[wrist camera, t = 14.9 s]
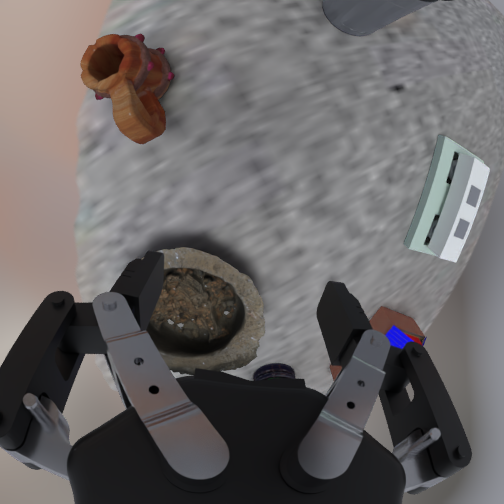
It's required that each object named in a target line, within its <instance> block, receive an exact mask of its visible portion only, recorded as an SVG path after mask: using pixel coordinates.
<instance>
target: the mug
mask: <svg viewBox="0 0 504 504" xmlns="http://www.w3.org/2000/svg"><path fill="white" fill-rule="evenodd" d="M144 39H145V37H144V36H143V35H142V34H138V35H136V36H129V35H121V36H119V35H117V34H110V35H106V36H103V37H101V38H99V39H97V40H96V43H95V45H89V46H88V48H87V50H86V52H85V53H84V55H83V58H82V60H81V68H82V70H83V72H82V74H81V78H82V80H83V83H84V84H85V85H86V86H87V87H88V88H90V89H93V90H94V91H95V93H96V94H95V97H96V99H97V100H101V99H103V98H104V97H105V98H111V99H112V103H113V117H114V121H115V123H116V125H117V127H118V128H119V130H120V131H121V132H122V133H123V134H124V135H125V136H127V137H128V138H129V139H131V140H132V141H134V142H136V143H139V144H145V143H147V142H148V141H151V140H152V139H154V138H156V137H158V136H160V135H162V134H163V132H164V131H165V129H166V117H165V111H164V109H163V108H162V106H161V104H160V103H159V101H158V99H160V98H161V97H162V96H163V94H164V93H165V92H166V91H167V89H168V87H169V84H170V80H172V79H173V78H174V74H173V73H172V72H171V69H170V66H169V63H168V61H167V59H166V58H165V57H164V53H165V50H164V48H158V49H156V50H154V49H150V48H147V47H146V45H145V44H144V43H143V42H144Z"/></svg>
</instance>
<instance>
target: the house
mask: <svg viewBox="0 0 504 504" xmlns="http://www.w3.org/2000/svg"><path fill="white" fill-rule="evenodd" d="M369 322H370V324H371V326H372V328H373V330H377V331H379V332H381V333H383V334H384V335H385V336H386V337H387V338H388V339H389V341H390V345H391V346H394V347H398V348H401V349H403V347H404V346H405V344H406V343H407V342H410V341H412V342H416V343H419V344H420V345H422V346H423V345H424V343H425V340H426V338H425V336H424V334H423V333H422V331H421V330H420V328H419V327H418V325H417V324H416V322H415V321H414V319H413V318H410V317H408V316H405V315H403V314H400V313H398V312H395V311H393V310H390V309H388V308H385V307H382V306H381V307H380V309H379V310H378V311H377V312H376V314H375V315H374V316H373V317H372V319H371V320H370V321H369ZM424 338H425V339H424ZM422 340H423V341H422ZM330 369H331V373H332V376H333V380H335V379H336V377H337V375H338V374H339V372H340V371H341V369H342V367H341V366H332V365H330Z"/></svg>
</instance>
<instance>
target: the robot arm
mask: <svg viewBox="0 0 504 504" xmlns="http://www.w3.org/2000/svg"><path fill="white" fill-rule="evenodd" d="M436 1H438V0H323V10H324V13H325V15H326V16H327V18H328V19H329V21H330V22H331V23H332V24H333V25H334V26H336V27H337V28H338V29H340V30H341V31H343V32H346V33H348V34H351V35H355V36H366V35H369V34H371V33H373V32H375V31H377V30H379V29H380V28H382V27H384V26H386V25H388V24H390V23H392V22H394V21H396V20H398V19H399V18H401V17H403V16H405V15H407V14H410V13H412V12H414V11H416V10H418V9H420V8H422V7H424V6H427V5H429V4H431V3H433V2H436ZM444 1H452V0H444ZM163 279H164V253H162V252H156V251H150V250H149V251H148V252H147V253H146V255H145V256H144V258H143V259H135V260H133V261H132V262H130V263H129V264H128V265H127V267H126V268H125V270H124V271H123V272H122V274H121V276H120V277H119V278H118V280H117V281H116V283H115V284H114V286H113V287H112V289H111V290H110V292H105V293H102V294H100V295H98V296H97V297H95V299H94V300H93V302H92V303H75V302H74V298H73V296H72V295H71V294H70V293H68V292H65V291H57V292H53V293H51V294H49V295H48V296H47V297H46V298H45V299H44V300H43V302H42V303H41V304H40V306H39V307H38V309H37V310H36V311H35V313H34V314H33V316H32V317H31V319H30V320H29V322H28V323H27V325H26V326H25V328H24V329H23V331H22V332H21V334H20V335H19V337H18V339H17V340H16V342H15V343H14V345H13V346H12V348H11V350H10V351H9V353H8V355H7V357H6V358H5V360H4V362H3V364H2V365H1V367H0V447H1V448H2V449H4V450H5V451H6V452H7V453H9V454H10V455H11V456H13V457H14V458H15V459H16V460H18V461H20V462H22V463H23V464H25V465H26V466H28V467H29V468H31V469H35V470H38V469H44V470H46V471H48V472H51V473H53V474H55V475H57V476H60V477H62V478H65V479H67V480H69V481H70V484H71V487H72V491H73V494H74V501H75V504H402V498H403V494H404V492H408V493H409V494H418V493H420V492H422V491H424V490H426V489H428V488H430V487H432V486H433V485H435V484H437V483H439V482H441V481H443V480H444V479H446V478H448V477H449V476H451V475H453V474H454V473H456V472H458V471H459V470H461V469H462V468H464V467H465V466H467V465H468V464H469V462H470V460H471V456H472V452H471V448H470V445H469V442H468V439H467V437H466V434H465V432H464V429H463V427H462V424H461V422H460V419H459V417H458V414H457V412H456V410H455V408H454V405H453V403H452V401H451V399H450V396H449V394H448V392H447V390H446V388H445V386H444V384H443V382H442V380H441V378H440V376H439V373H438V372H437V370H436V368H435V366H434V364H433V362H432V360H431V358H430V356H429V354H428V352H427V351H426V349H425V348H424V347H423V346H422V345H420V344H419V343H416V342H412V341H410V342H407V343H406V344H405V346H404V347H403V349H401V348H398V347H394V346H391V345H390V341H389V339H388V338H387V337H386V336H385V335H384V334H383V333H381V332H379V331H377V330H373V328H372V326H371V324H370V322H369V320H368V318H367V316H366V314H364V311H363V309H362V308H361V305H360V303H359V301H358V300H357V299H356V298H355V297H354V296H353V295H352V294H350V293H349V291H348V290H347V288H346V286H345V284H344V283H341V282H334V281H329V282H328V283H327V285H326V287H325V290H324V292H323V295H322V297H321V299H320V302H319V304H318V307H317V319H318V322H319V325H320V328H321V332H322V335H323V338H324V341H325V345H326V348H327V351H328V355H329V358H330V361H331V365H332V366H341V367H342V369H341V371H340V372H339V374H338V375H337V377H336V379H335V380H334V382H333V384H332V385H331V387H330V389H329V390H328V392H327V394H326V395H323V394H321V393H320V392H318V391H316V390H313V389H311V388H308V387H306V386H305V381H304V379H292V378H274V379H266V380H259V381H249V380H246V379H243V378H239V377H236V376H233V375H230V374H227V373H224V372H219V371H212V370H205V369H199V368H195V374H194V376H185V377H180V378H176V379H175V377H174V376H173V374H172V373H171V371H170V369H169V368H168V366H167V365H166V363H165V361H164V360H163V358H162V356H161V355H160V353H159V351H158V350H157V348H156V346H155V344H154V343H153V341H152V339H151V337H150V335H149V334H148V332H147V331H146V329H147V326H148V324H149V321H150V319H151V316H152V314H153V311H154V309H155V307H156V304H157V302H158V299H159V297H160V295H161V292H162V288H163ZM85 354H104V357H105V360H106V362H107V365H108V367H109V370H110V372H111V375H112V377H113V380H114V382H115V385H116V387H117V389H118V392H119V395H120V397H121V399H122V402H123V404H124V406H125V409H126V410H125V411H123V412H122V413H120V414H118V415H117V416H115V417H114V418H112V419H111V420H109V421H108V422H106V423H104V424H103V425H101V426H100V427H98V428H97V429H95V430H93V431H92V432H90V433H88V434H87V435H85V436H83V437H82V438H80V439H79V440H78V441H77V442H76V443H75V444H74V445H73V446H71V445H70V442H69V431H70V430H69V425H68V422H67V421H66V419H65V418H64V416H63V415H62V413H63V410H64V407H65V405H66V402H67V399H68V396H69V393H70V391H71V388H72V385H73V383H74V380H75V378H76V375H77V373H78V370H79V368H80V365H81V363H82V361H83V358H84V356H85ZM409 383H411V385H412V388H413V390H414V399H413V400H412V402H411V401H410V399H409V396H408V393H407V391H406V388H405V387H406V386H407V385H408V384H409ZM378 394H379V397H380V400H381V403H382V407H383V410H384V413H385V417H386V420H387V424H388V428H389V431H390V435H391V438H392V442H393V446H394V449H393V452H392V453H391V452H390V451H389V450H387V449H386V448H385V447H383V446H382V445H381V444H380V443H379V442H378V441H377V440H375V439H374V438H373V437H372V436H371V435H369V434H368V433H367V432H366V431H365V430H364V427H365V425H366V423H367V420H368V418H369V416H370V413H371V411H372V408H373V406H374V403H375V401H376V398H377V396H378Z"/></svg>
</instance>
